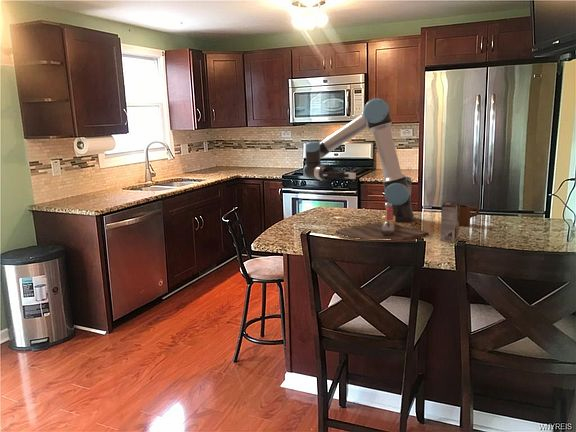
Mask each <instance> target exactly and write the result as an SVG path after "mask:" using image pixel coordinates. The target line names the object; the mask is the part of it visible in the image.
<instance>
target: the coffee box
mask: <svg viewBox="0 0 576 432" xmlns="http://www.w3.org/2000/svg"><path fill="white" fill-rule="evenodd" d="M460 203H461V202H455V201H445V202H444V203H442V204H441V209H440V210H441V212H440V213H441V217H440V237H439V238H440V241H443V242H452V243H455V242H456V241H457V240H458V238H459V232H460V226H459V211H460V205H461V204H460Z"/></svg>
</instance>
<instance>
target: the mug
mask: <svg viewBox="0 0 576 432" xmlns="http://www.w3.org/2000/svg"><path fill="white" fill-rule="evenodd" d="M472 211H475V212H474V213H473V212H472ZM471 212H472V213H471ZM479 214H480V209H479V207H477V206H470V205H467V204H466V205H465V204H460V211H459V227H468V226H470V223H471V218H474V217H477V216H478V215H479Z"/></svg>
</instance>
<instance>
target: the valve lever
mask: <svg viewBox="0 0 576 432" xmlns="http://www.w3.org/2000/svg"><path fill="white" fill-rule="evenodd" d="M384 209H385V211H386V212H385V214H386V218H387V220H393V207H392V203H389V202H385V203H384Z"/></svg>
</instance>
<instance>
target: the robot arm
mask: <svg viewBox="0 0 576 432" xmlns="http://www.w3.org/2000/svg"><path fill="white" fill-rule="evenodd" d="M392 123H393V120H392V118H391V106H390V104H389V103H388V101H386V100H384V99H382V98H379V97H378V98H377V97H374V98H372V99H370V100H368V101H367V102H366V104H365V105H364V107H363V111H362V112H361V114H360V115H359V116H357V117H356V118H354V119H353V120H351V121H350V122H348V123H347V124H345V125H344V126H342V127H341V128H339V129H338V130H336V131H335V132H333V133H332V134H330V135H328V136H327V137H326V138H325V139H323V140H322V141H320V142H319V141H309V142H308V141H307V142H306V143H305V150H304V151H305V161H306V162H305V165H303V169H302V174H303V177H305V178H308V179H310V180H312V179H313V180H320V181H321V182H322V181H327V182H329V181H331V180H333V179H341V180H345V179H349V180H350V179H351V180H356V179H357V178H356V177H357V175H356V174H357V173H356V172H350V171H349V170H344V169H342V170H338V169H334V168H333V167H332V166H331V165H325V164H324V165H323V164H321V159H322V158H324V157H326V156H327V155H328V154H330V153H331V152H332V151H333V150H335V149H336V148H339V147H340V146H342V145H343V144H344V143H346V142H348V141H349V140H351V139H353V138H354V137H355V136H357V135H358V134H360V133H362V132H363V131H365V130H366V129H367V128H368V129H369V130H370V131H372V133H373V137H374V141H375V146H376V149H377V153H378V157H379V160H380V164H381V169H382V173H383V176H384V178H383V180H382V184H383V188H384V198H385V200H386V201H387V203H392V207H393V215H395V222H397V223H399V222H400V223H402V222H410V221H411V222H412V221H414V220H415V214H414V212H413V208H412V183H413V182H412V177H410V176H406V175H405V174H404V173H402V170H401V169H402V168H401V165H400V162H399V158H398V153H397V151H396V150H397V149H396V147H395V142H394V138H393V134H392V130H391V125H392Z"/></svg>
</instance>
